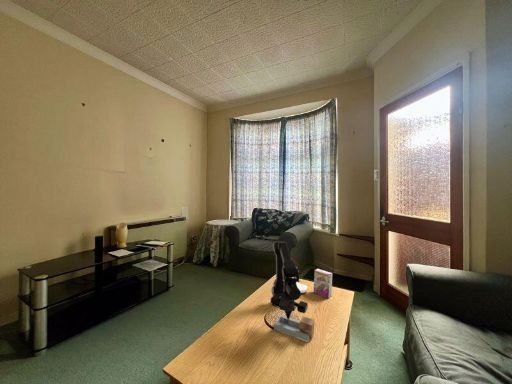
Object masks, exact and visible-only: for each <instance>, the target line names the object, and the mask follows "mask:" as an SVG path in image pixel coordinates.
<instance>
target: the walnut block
mask: <svg viewBox="0 0 512 384" xmlns="http://www.w3.org/2000/svg"><path fill="white" fill-rule="evenodd" d="M299 322H300V332H303V333H306V334H308V335H309V339H310V340H312V339H313V337H314V334H315V319H314V318H313V319H312V318H310V317H307V316H304V315H303V316H302V317H301V319H300V321H299Z"/></svg>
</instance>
